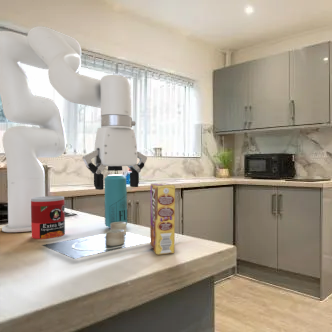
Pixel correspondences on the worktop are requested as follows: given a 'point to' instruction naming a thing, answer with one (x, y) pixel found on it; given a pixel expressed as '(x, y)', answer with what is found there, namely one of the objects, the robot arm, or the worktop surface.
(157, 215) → the candy box
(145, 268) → the worktop surface
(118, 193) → the beverage bottle
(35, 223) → the canned food
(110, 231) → the puck eye
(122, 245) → the chalkboard
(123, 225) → the puck eye
